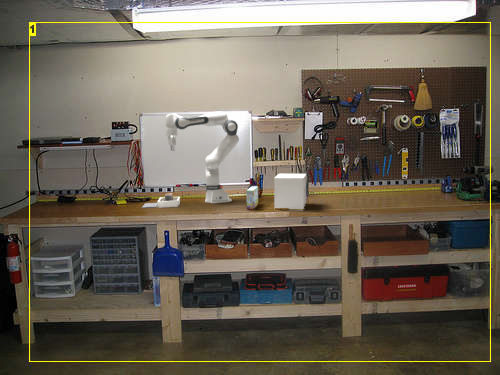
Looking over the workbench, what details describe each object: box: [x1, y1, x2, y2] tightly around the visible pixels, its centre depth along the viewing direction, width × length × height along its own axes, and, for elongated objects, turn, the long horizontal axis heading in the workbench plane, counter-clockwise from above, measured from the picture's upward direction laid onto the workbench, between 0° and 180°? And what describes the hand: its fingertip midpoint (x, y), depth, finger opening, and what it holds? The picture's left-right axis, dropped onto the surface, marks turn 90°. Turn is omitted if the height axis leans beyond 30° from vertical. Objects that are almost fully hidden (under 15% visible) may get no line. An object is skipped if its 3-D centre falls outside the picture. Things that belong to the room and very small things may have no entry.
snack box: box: [246, 185, 259, 210], centre depth 288 cm, size 21×6×15 cm, turn 168°
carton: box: [157, 196, 181, 209], centre depth 304 cm, size 16×18×5 cm
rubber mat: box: [141, 202, 158, 209], centre depth 302 cm, size 11×16×1 cm
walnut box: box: [164, 192, 174, 201], centre depth 303 cm, size 5×12×9 cm, turn 6°
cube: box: [273, 173, 307, 210], centre depth 286 cm, size 25×21×24 cm
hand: (172, 150), depth 305 cm, fingers open, 8 cm apart
